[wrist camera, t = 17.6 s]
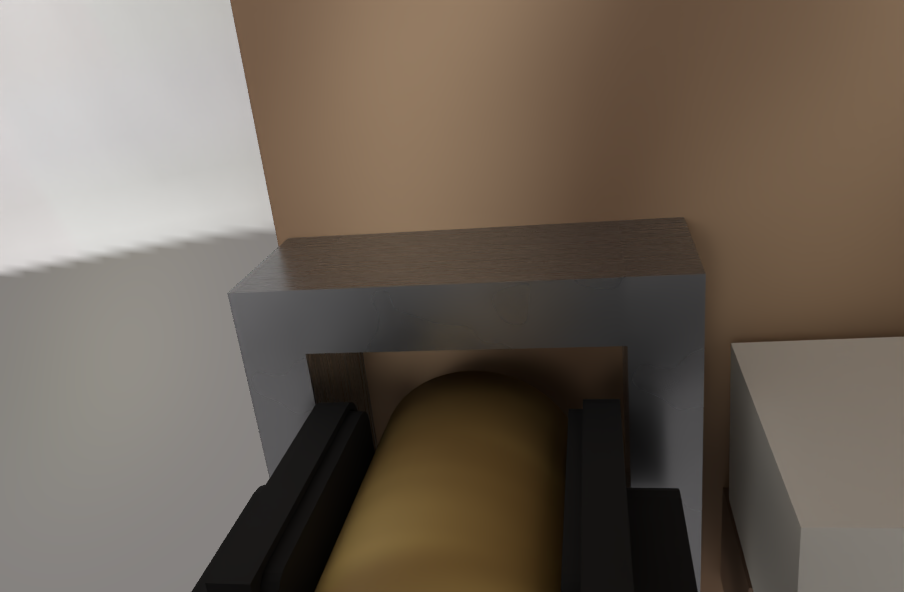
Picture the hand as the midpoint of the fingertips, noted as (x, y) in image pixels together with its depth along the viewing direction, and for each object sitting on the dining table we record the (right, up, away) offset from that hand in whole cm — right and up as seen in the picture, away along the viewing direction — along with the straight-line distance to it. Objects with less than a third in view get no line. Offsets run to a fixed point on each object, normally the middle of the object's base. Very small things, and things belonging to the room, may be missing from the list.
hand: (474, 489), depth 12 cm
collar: (0, +1, +2) cm, 3 cm away
